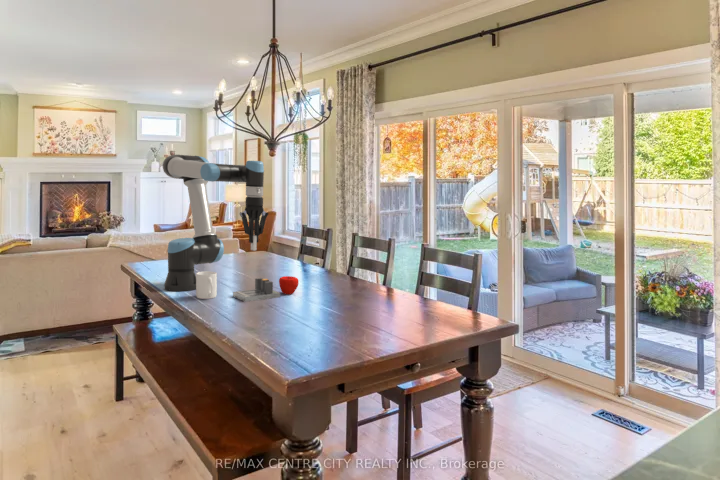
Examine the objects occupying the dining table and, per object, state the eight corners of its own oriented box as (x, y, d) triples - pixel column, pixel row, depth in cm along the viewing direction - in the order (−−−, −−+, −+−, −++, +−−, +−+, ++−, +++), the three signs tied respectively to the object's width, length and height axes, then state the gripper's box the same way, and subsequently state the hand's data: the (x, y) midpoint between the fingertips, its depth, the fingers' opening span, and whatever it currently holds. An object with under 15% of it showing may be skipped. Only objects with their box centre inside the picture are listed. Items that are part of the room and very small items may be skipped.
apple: (301, 292, 229) (302, 276, 228) (291, 296, 221) (291, 279, 220) (285, 290, 233) (286, 274, 232) (275, 294, 225) (275, 277, 224)
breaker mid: (260, 290, 220) (260, 279, 220) (266, 290, 222) (266, 278, 221) (262, 291, 219) (263, 279, 218) (268, 291, 220) (269, 279, 220)
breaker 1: (255, 289, 223) (255, 278, 223) (261, 288, 225) (261, 277, 225) (257, 290, 222) (257, 279, 221) (263, 289, 224) (263, 278, 223)
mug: (201, 301, 206) (201, 276, 205) (193, 296, 216) (193, 272, 215) (221, 299, 211) (221, 275, 209) (213, 294, 220) (213, 270, 219)
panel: (233, 296, 217) (233, 291, 217) (267, 292, 228) (267, 287, 228) (244, 301, 208) (244, 297, 208) (280, 297, 219) (280, 292, 218)
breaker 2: (264, 292, 216) (264, 281, 216) (270, 292, 218) (270, 281, 218) (266, 293, 215) (266, 282, 214) (272, 293, 217) (272, 282, 216)
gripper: (244, 196, 205) (243, 252, 208) (271, 197, 213) (270, 250, 216) (236, 195, 211) (236, 249, 214) (263, 196, 219) (263, 248, 222)
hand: (253, 250), depth 215 cm, fingers closed
